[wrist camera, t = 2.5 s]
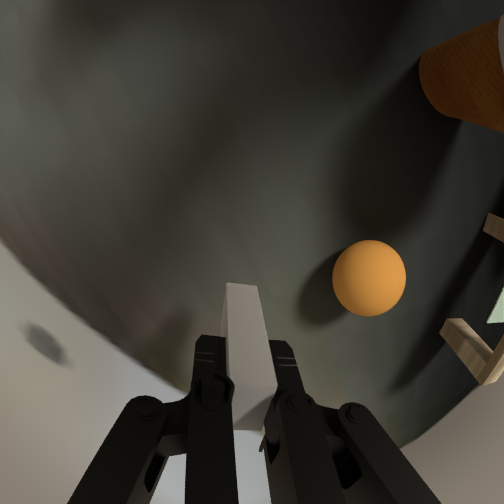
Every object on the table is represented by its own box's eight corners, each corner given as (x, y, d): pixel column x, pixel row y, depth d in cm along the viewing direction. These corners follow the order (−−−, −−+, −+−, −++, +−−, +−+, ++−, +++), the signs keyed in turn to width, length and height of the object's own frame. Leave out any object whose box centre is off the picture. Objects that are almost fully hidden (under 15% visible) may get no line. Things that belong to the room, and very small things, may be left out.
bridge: (439, 333, 27) (481, 386, 19) (488, 212, 22) (553, 247, 13) (454, 332, 28) (495, 381, 19) (501, 218, 22) (562, 252, 14)
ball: (333, 224, 21) (364, 254, 16) (392, 235, 22) (430, 264, 17) (315, 288, 23) (336, 331, 18) (372, 293, 24) (401, 331, 19)
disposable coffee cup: (382, 76, 17) (508, 55, 6) (429, 11, 14) (530, -19, 3) (454, 158, 19) (565, 195, 8) (490, 89, 17) (588, 100, 6)
